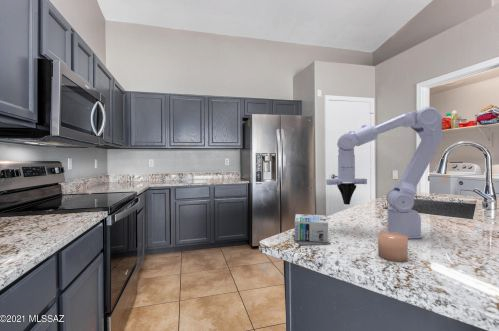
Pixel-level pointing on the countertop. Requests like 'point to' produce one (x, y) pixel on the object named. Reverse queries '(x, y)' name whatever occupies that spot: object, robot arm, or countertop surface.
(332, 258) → the countertop surface
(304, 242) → the flat gray square
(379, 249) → the tan rounded cylinder
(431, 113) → the robot arm
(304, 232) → the light bulb box
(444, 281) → the countertop surface
